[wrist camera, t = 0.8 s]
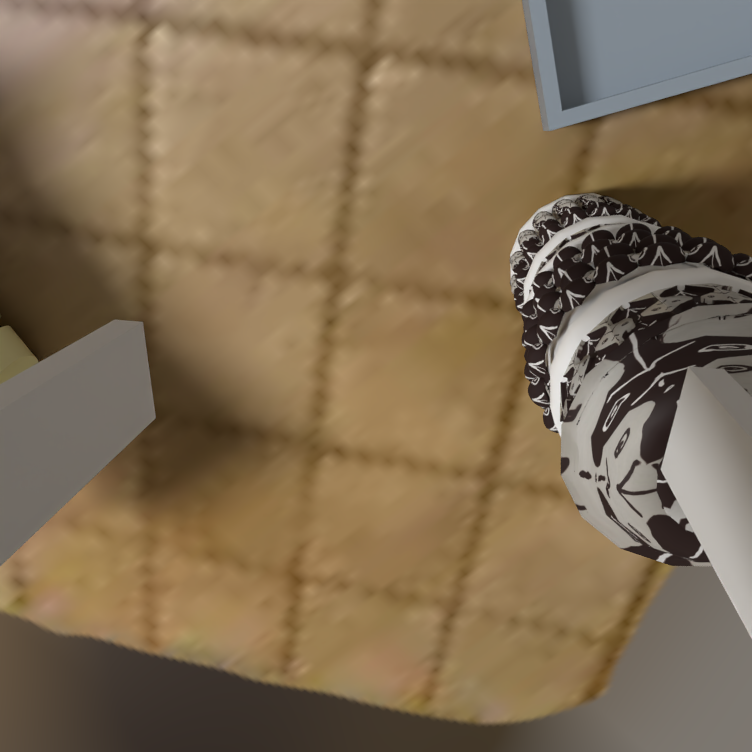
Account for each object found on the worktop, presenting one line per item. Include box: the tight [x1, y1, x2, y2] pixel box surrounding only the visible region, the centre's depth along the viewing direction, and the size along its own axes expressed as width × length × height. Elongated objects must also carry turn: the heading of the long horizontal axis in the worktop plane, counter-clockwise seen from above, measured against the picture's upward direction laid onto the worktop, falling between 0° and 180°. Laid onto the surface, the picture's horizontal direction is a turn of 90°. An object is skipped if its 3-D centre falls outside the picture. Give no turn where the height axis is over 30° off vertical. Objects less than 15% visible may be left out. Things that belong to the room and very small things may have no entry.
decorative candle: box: [510, 193, 752, 566], centre depth 26 cm, size 9×9×25 cm
